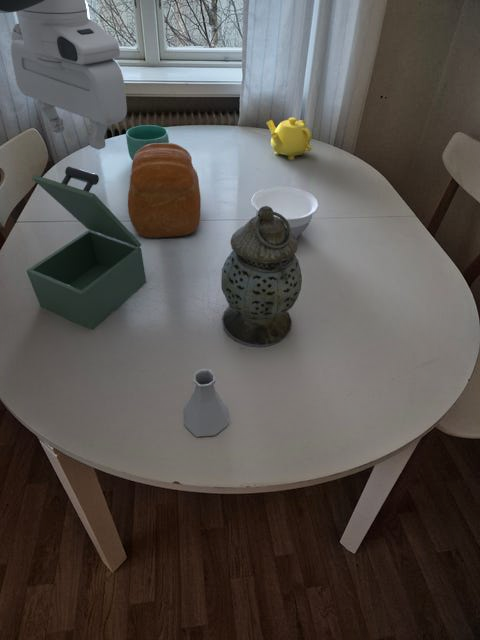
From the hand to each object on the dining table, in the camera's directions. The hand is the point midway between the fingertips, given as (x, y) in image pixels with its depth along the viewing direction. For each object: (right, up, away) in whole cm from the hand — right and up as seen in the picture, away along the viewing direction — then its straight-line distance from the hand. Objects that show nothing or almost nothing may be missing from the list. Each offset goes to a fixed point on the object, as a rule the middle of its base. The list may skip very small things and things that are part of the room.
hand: (77, 139), depth 67 cm
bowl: (+36, -7, +40) cm, 54 cm away
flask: (+20, -44, +1) cm, 48 cm away
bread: (+6, -2, +45) cm, 45 cm away
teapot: (+41, +27, +77) cm, 91 cm away
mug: (-2, +20, +67) cm, 70 cm away
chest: (-4, -23, +21) cm, 32 cm away
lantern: (+29, -29, +16) cm, 44 cm away
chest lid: (-2, -9, +12) cm, 15 cm away
